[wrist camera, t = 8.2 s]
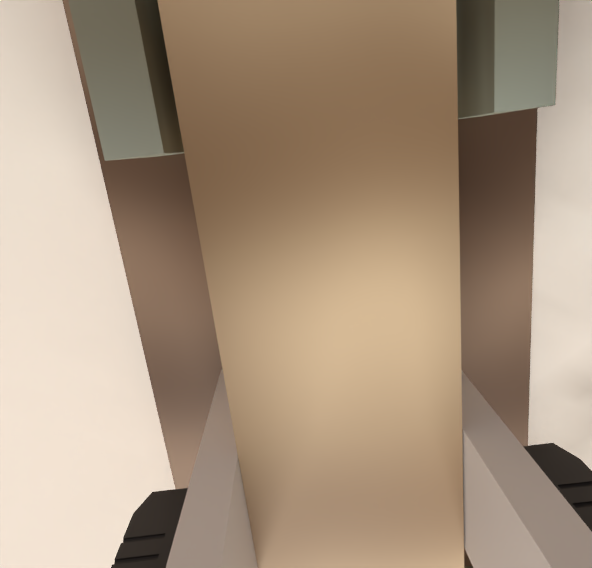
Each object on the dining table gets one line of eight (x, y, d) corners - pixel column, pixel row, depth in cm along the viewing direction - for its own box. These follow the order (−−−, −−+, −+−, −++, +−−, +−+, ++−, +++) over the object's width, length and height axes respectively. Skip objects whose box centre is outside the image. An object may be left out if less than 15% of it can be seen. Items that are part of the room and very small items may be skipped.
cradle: (32, -215, 9) (-142, -461, 6) (522, -283, 9) (687, -584, 5) (240, 722, 17) (226, 884, 14) (506, 694, 17) (569, 851, 13)
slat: (204, 40, 10) (152, -25, 6) (389, 18, 10) (455, -64, 6) (298, 650, 15) (302, 822, 11) (421, 637, 15) (467, 806, 11)
